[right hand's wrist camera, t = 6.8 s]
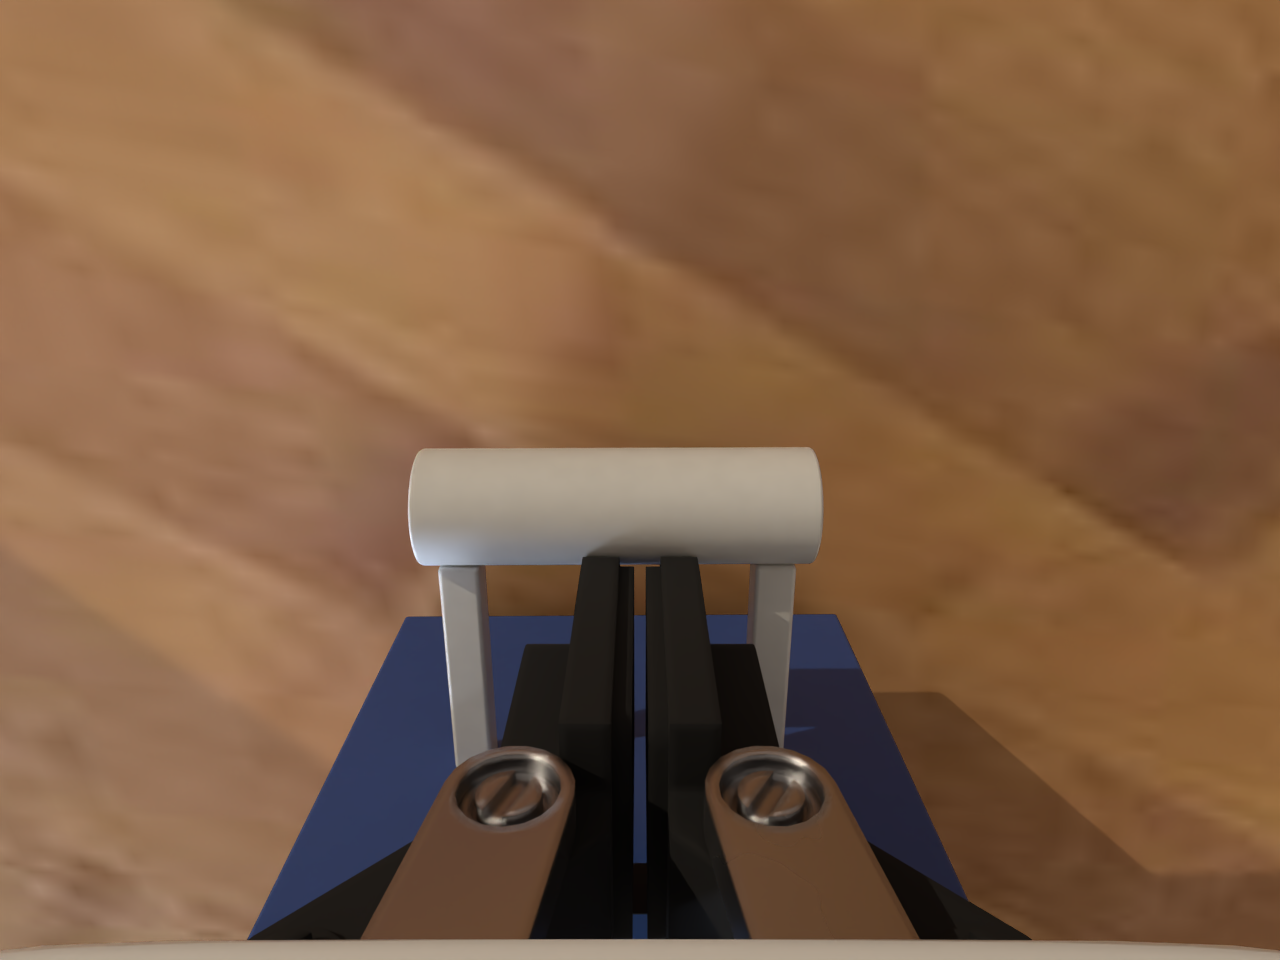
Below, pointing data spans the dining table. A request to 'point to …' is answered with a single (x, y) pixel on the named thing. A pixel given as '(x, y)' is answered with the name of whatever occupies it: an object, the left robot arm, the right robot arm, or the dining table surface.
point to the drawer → (493, 645)
